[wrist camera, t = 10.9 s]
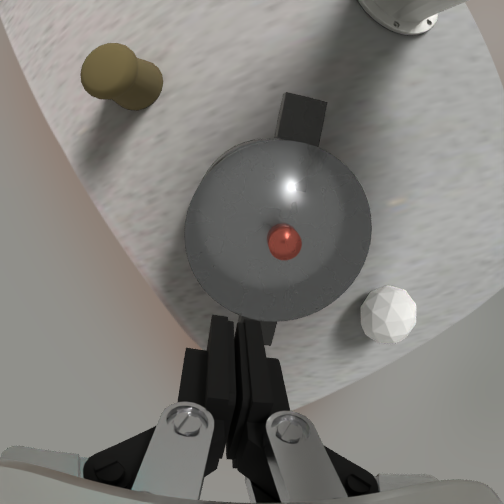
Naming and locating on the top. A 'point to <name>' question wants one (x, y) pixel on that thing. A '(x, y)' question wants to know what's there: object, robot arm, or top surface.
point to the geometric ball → (388, 315)
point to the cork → (121, 77)
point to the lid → (278, 230)
